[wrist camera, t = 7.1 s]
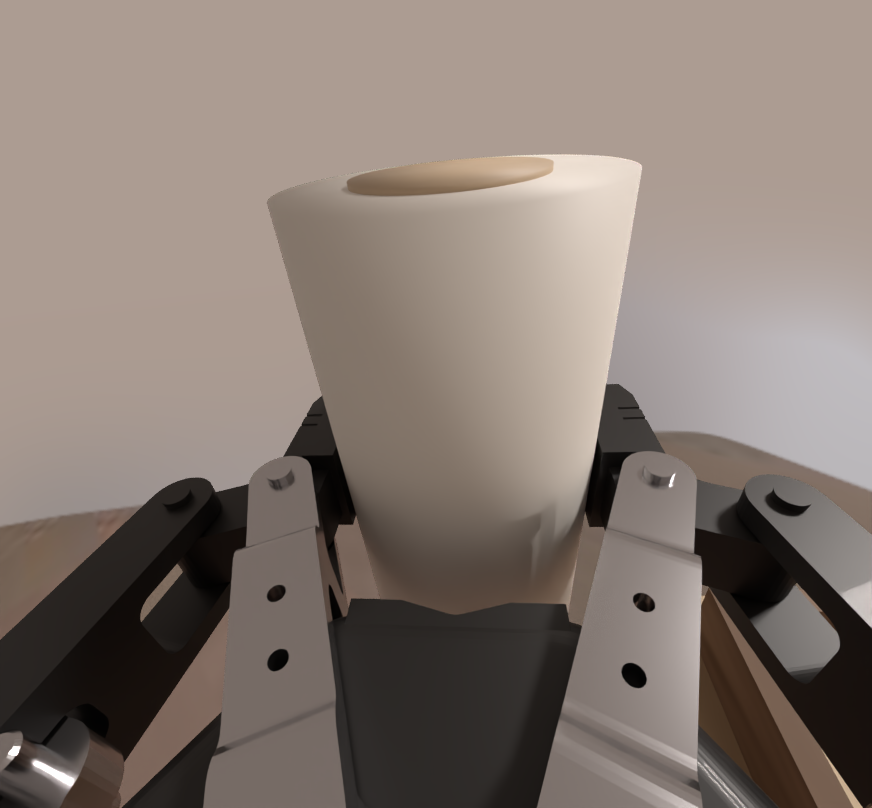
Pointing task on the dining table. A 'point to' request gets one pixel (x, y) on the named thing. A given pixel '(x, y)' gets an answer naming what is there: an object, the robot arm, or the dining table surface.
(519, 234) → the paper towel roll
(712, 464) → the dining table surface
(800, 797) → the open wooden box
